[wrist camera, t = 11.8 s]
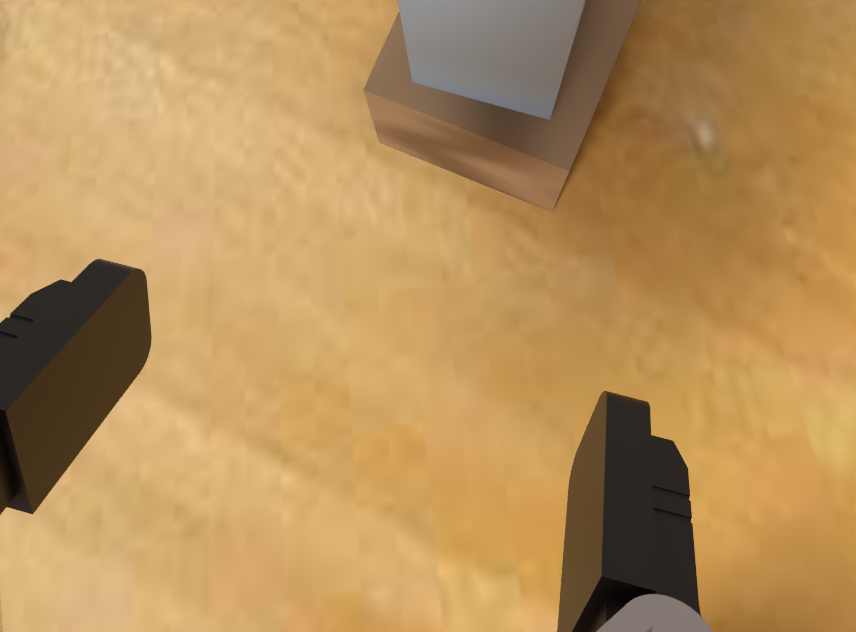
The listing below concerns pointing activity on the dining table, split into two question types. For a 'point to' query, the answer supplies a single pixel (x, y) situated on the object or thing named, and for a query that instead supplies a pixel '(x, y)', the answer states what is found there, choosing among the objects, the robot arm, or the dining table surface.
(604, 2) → the walnut block
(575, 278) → the dining table surface
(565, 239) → the dining table surface
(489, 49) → the pillar
